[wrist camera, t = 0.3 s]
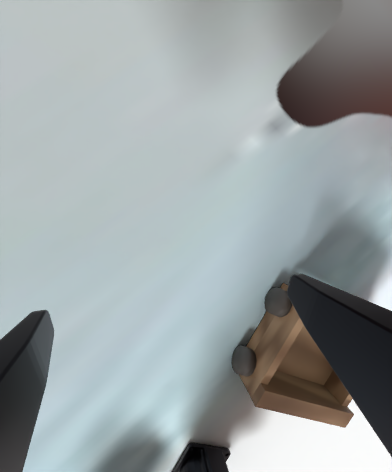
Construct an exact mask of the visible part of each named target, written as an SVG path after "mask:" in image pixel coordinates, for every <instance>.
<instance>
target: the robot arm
mask: <svg viewBox="0 0 392 472" xmlns="http://www.w3.org/2000/svg"><path fill="white" fill-rule="evenodd" d="M287 294H288V297H289V299H290V301H291V303H292V304H293V306H294V308H295V310H296V312H297V314H298V315H299V317H300V319H301V321H302V323H303V325H304V326H305V328H306V330H307V331H308V333H309V334H310V336H311V337H312V339H313V340H314V342H315V343H316V345H317V346H318V348H319V349H320V351H321V352H322V354H323V355H324V357H325V358H326V360H327V361H328V363H329V364H330V366H331V367H332V369H333V370H334V372H335V373H336V375H337V376H338V378H339V379H340V381H341V382H342V383H343V385H344V386H345V388H346V389H347V391H348V392H349V394H350V395H351V397H352V398H353V400H354V401H355V403H356V404H357V406H358V407H359V409H360V410H361V412H362V413H363V415H364V416H365V418H366V419H367V421H368V422H369V424H370V425H371V427H372V428H373V430H374V431H375V433H376V434H377V436H378V437H379V439H380V440H381V442H382V443H383V445H384V446H385V448H386V449H387V451H388V452H389V453H390V455H391V457H392V311H390V310H388V309H385V308H383V307H380V306H378V305H376V304H373V303H371V302H369V301H366V300H364V299H361V298H359V297H357V296H354V295H352V294H349V293H347V292H345V291H342V290H340V289H337V288H335V287H333V286H330V285H328V284H325V283H323V282H321V281H318V280H316V279H314V278H311V277H309V276H306V275H304V274H294V275H292V276H291V278H290V282H289V285H288V289H287ZM53 338H54V328H53V324H52V321H51V318H50V315H49V312H48V311H47V310H40V311H34V312H31V313H30V314H29V315H28V316H27V317H26V318H24V319H23V320H22V321H21V322H20V323H19V324H18V325H17V326H15V327H14V328H13V329H12V330H11V331H10V332H9V333H7V334H6V335H5V336H4V337H3V338H2V339H1V340H0V472H22V471H23V467H24V464H25V460H26V456H27V453H28V449H29V445H30V442H31V438H32V434H33V431H34V427H35V424H36V420H37V416H38V413H39V409H40V405H41V402H42V398H43V394H44V391H45V387H46V382H47V377H48V370H49V364H50V357H51V351H52V344H53ZM229 456H230V450H229V449H227V448H221V447H214V446H208V445H201V444H195V443H191V444H189V445H188V446H187V448H186V450H185V451H184V453H183V455H182V457H181V458H180V460H179V462H178V464H177V465H176V467H175V469H174V470H173V472H229V471H228V468H227V465H226V461H227V459H228V458H229Z"/></svg>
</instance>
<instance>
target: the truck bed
mask: <svg viewBox="0 0 392 472" xmlns="http://www.w3.org/2000/svg"><path fill="white" fill-rule="evenodd" d="M287 289H288V285H286V284H284V283H283V284H282V286H281V288H278V287H275V288H273V289H271V290H270V291H269V292H268V293H267V295H266V298H265V309H266V310H267V312H266V313H265V315H264V317H263V318H262V320H261V322H260V324H259V325H258V327H257V329H256V330H255V332H254V334H253V336H252V337H251V339H250V341H249V342H248V344H247V346H246V347H245V346H238V347H237V348H236V349H235V351H234V353H233V356H232V368H233V370H234V372H235V373H237V374H239V376H240V378H241V380H242V382H243V383H244V385H245V387H246V389H247V391H248V393H249V395H250V397H251V399H252V401H253V403H254V405H255V406H256V407H259V408H263V409H268V410H272V411H276V412H280V413H285V414H289V415H293V416H298V417H302V418H306V419H310V420H315V421H319V422H323V423H327V424H332V425H336V426H340V427H346V426H347V424H348V423H349V421H350V420H351V418H352V417H353V415H354V414H353V413H352V412H351V411H350V409H349V408H348V407H347V406H348V405H349V403H350V402H351V400H352V399H353V398H352V397H351V395H350V394H349V392H348V391H347V389H346V388H345V386H344V385H343V383H342V382H341V381H340V379H339V378H338V376H337V375H336V373H335V372H334V370H333V369H332V367H331V366H330V364H329V363H328V361H327V360H326V358H325V357H324V355H323V354H322V352H321V351H320V349H319V348H318V346H317V345H316V343H315V342H314V340H313V339H312V337H311V336H310V334H309V333H308V331H307V330H306V328H305V326H304V325H303V323H302V321H301V319H300V317H299V315H298V314H297V312H296V310H295V308H294V306H293V304H292V303H291V301H290V299H289V297H288V294H287Z"/></svg>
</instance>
